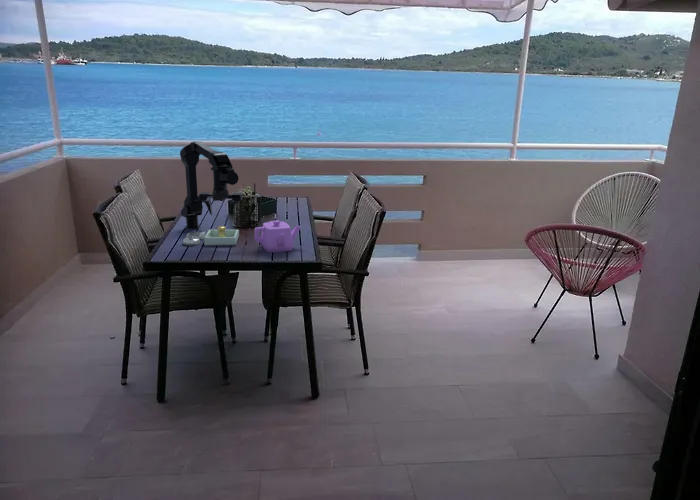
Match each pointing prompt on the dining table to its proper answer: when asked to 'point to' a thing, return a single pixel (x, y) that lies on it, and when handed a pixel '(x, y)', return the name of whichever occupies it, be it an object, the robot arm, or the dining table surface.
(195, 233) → the tensioner bracket
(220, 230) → the pin
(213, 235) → the parts tray
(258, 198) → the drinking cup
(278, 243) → the teakettle
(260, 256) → the dining table surface
